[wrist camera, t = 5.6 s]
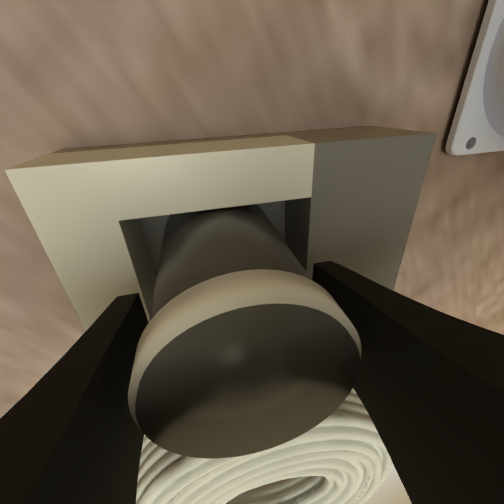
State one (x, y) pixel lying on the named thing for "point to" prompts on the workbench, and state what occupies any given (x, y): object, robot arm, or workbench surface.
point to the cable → (276, 468)
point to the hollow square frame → (223, 202)
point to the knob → (237, 341)
